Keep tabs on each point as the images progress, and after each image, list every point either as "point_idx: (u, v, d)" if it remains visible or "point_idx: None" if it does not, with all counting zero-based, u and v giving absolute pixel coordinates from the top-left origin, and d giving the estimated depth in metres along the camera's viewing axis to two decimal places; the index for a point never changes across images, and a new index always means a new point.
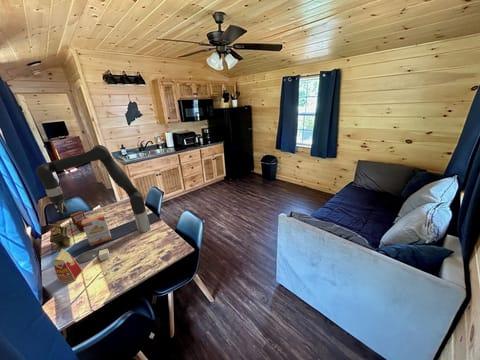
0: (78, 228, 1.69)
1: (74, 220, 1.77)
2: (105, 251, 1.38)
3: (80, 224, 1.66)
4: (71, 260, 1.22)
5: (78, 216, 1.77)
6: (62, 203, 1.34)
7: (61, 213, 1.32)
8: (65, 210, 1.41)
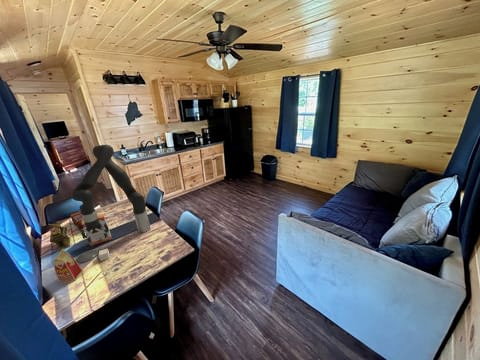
0: (79, 228, 1.69)
1: (74, 220, 1.77)
2: (105, 251, 1.38)
3: (81, 224, 1.66)
4: (71, 260, 1.22)
5: (78, 216, 1.77)
6: None
7: None
8: (90, 239, 1.32)
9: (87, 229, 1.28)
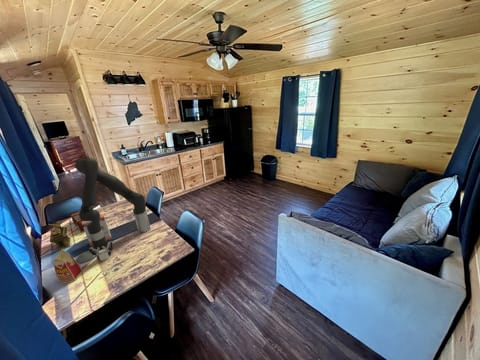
0: (79, 228, 1.69)
1: (75, 220, 1.77)
2: (105, 251, 1.38)
3: (81, 224, 1.66)
4: (71, 260, 1.22)
5: None
6: None
7: None
8: None
9: (94, 247, 1.33)
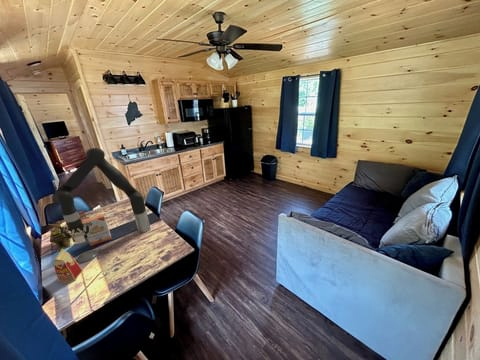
0: None
1: None
2: (81, 234, 1.35)
3: None
4: (71, 260, 1.22)
5: None
6: None
7: (86, 233, 1.37)
8: None
9: (69, 229, 1.30)
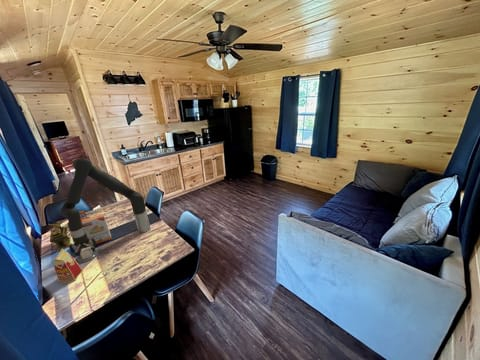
0: None
1: None
2: (87, 249, 1.40)
3: None
4: (71, 260, 1.22)
5: (80, 216, 1.78)
6: None
7: (94, 245, 1.42)
8: (79, 253, 1.39)
9: (75, 244, 1.35)
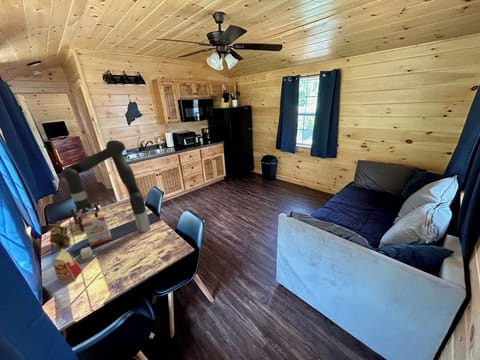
0: (80, 228, 1.70)
1: (76, 220, 1.77)
2: (87, 249, 1.40)
3: None
4: (71, 260, 1.22)
5: None
6: None
7: (96, 211, 1.37)
8: (81, 219, 1.33)
9: (77, 208, 1.29)
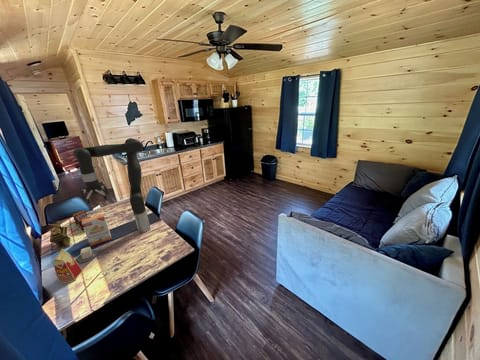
0: (81, 227, 1.70)
1: (76, 220, 1.77)
2: (87, 249, 1.40)
3: None
4: (71, 260, 1.22)
5: (80, 216, 1.78)
6: None
7: None
8: (90, 201, 1.33)
9: (87, 190, 1.29)
